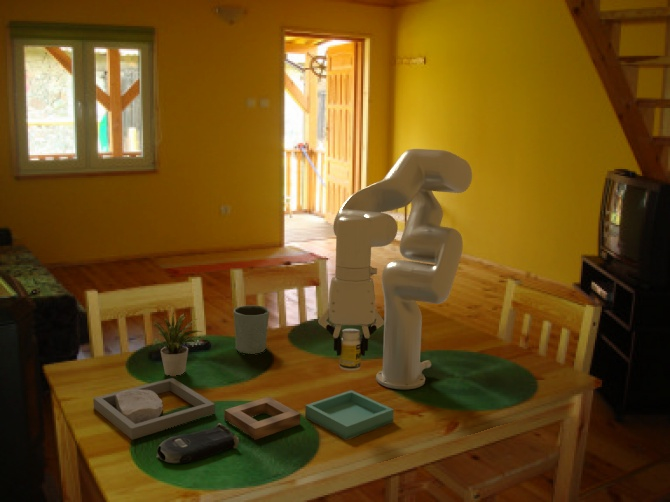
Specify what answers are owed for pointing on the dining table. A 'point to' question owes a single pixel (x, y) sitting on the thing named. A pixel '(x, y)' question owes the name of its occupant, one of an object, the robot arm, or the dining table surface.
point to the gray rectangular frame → (161, 423)
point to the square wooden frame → (259, 429)
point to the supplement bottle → (350, 350)
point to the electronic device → (197, 445)
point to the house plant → (174, 346)
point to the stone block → (139, 405)
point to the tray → (349, 414)
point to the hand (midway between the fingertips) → (350, 352)
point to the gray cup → (251, 328)
